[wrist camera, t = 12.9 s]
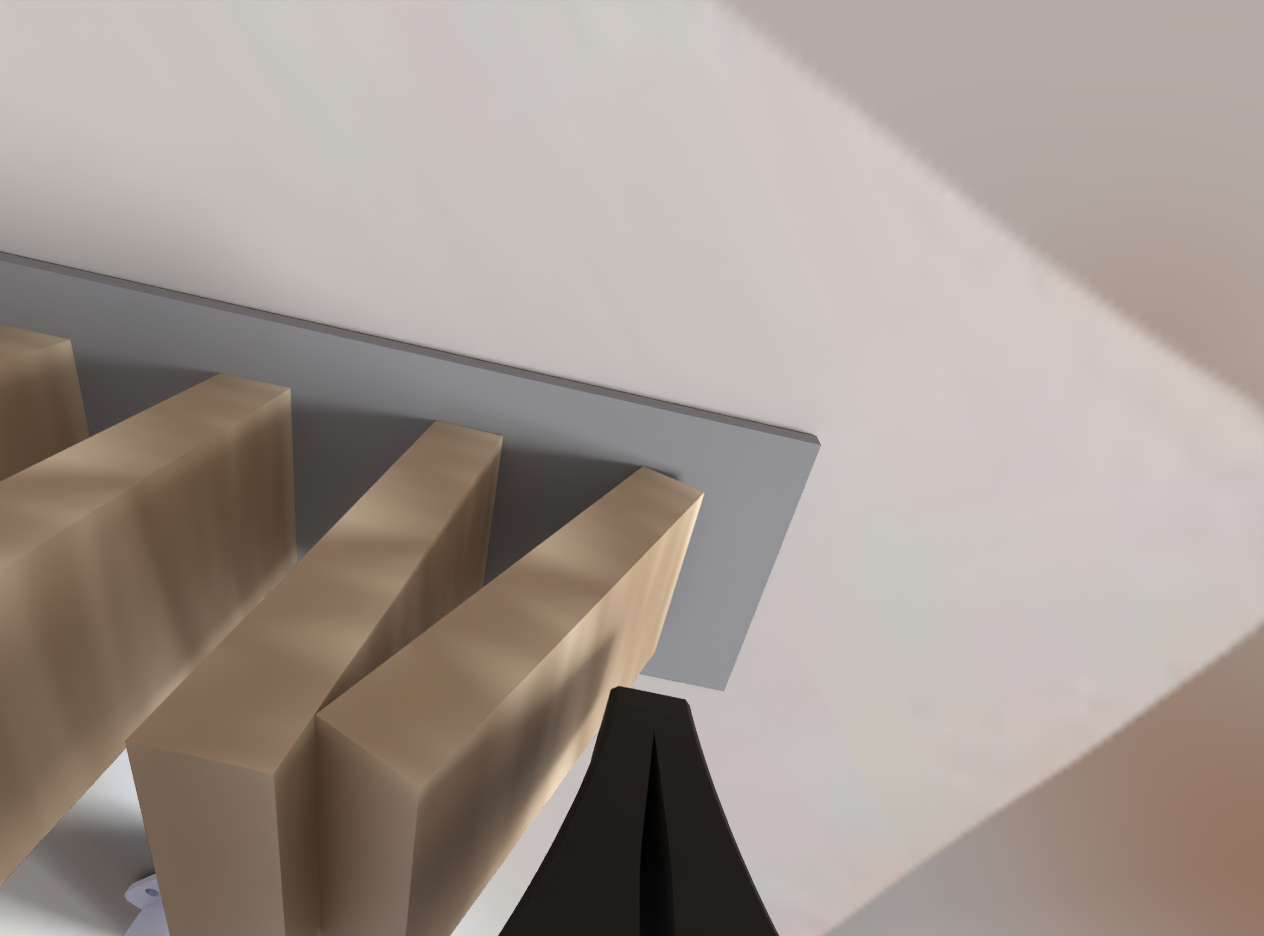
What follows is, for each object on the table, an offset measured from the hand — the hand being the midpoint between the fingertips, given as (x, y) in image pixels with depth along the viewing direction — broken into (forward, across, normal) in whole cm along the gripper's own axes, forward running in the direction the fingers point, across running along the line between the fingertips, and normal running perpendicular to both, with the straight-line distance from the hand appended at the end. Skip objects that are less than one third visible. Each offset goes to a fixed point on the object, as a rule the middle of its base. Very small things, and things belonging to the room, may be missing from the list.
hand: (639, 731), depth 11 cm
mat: (+6, +10, 0) cm, 12 cm away
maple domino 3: (+5, 0, 0) cm, 5 cm away
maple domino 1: (+5, +10, 0) cm, 11 cm away
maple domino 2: (+5, +5, 0) cm, 7 cm away
